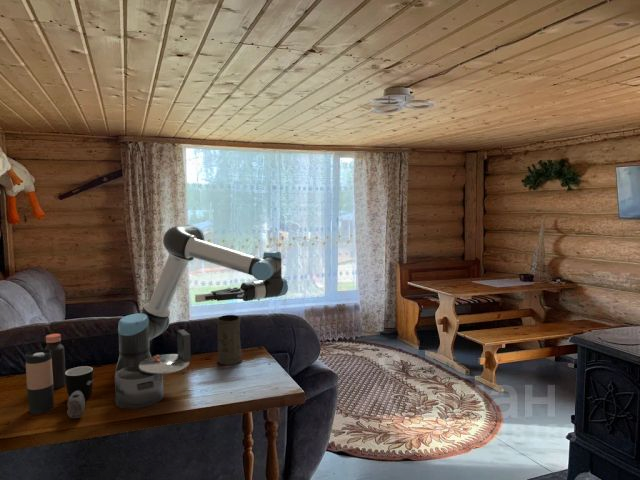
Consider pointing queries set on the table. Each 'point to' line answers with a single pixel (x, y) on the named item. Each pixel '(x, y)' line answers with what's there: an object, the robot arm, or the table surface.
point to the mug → (79, 380)
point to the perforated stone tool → (76, 405)
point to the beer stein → (229, 339)
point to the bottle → (57, 359)
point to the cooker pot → (137, 388)
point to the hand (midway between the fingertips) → (195, 298)
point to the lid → (169, 358)
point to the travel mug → (39, 381)
